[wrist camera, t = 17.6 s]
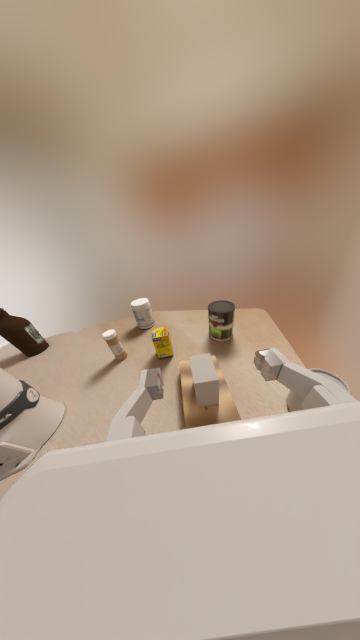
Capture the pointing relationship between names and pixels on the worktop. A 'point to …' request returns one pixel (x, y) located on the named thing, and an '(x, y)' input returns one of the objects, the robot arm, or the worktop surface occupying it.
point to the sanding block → (205, 380)
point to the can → (296, 401)
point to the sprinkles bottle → (114, 344)
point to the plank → (211, 413)
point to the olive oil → (21, 334)
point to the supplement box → (162, 342)
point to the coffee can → (221, 320)
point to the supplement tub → (143, 313)
